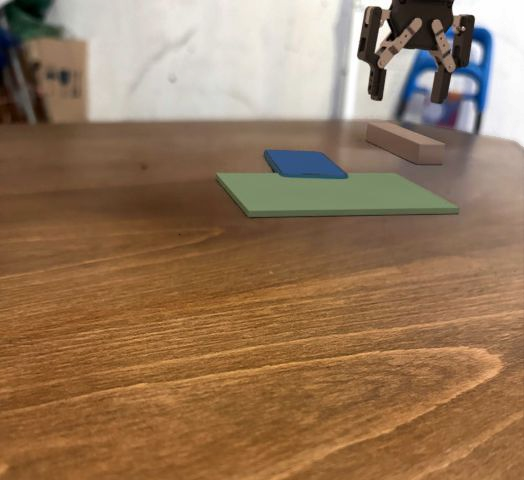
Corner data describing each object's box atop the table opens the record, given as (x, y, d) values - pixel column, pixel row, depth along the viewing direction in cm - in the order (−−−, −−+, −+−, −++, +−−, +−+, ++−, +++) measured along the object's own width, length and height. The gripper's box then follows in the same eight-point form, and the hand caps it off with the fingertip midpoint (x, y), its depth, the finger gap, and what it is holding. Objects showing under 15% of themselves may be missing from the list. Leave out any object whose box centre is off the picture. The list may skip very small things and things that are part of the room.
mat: (394, 178, 73) (394, 172, 73) (458, 213, 61) (459, 207, 61) (215, 178, 68) (215, 172, 68) (248, 217, 56) (248, 210, 56)
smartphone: (321, 151, 82) (351, 176, 69) (320, 159, 83) (349, 185, 69) (262, 149, 81) (280, 174, 68) (261, 157, 82) (279, 183, 68)
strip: (365, 140, 95) (367, 122, 93) (387, 140, 96) (390, 122, 94) (416, 164, 81) (419, 143, 80) (442, 164, 82) (445, 143, 81)
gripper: (388, -54, 72) (367, 103, 80) (501, -41, 76) (471, 108, 84) (361, -50, 79) (343, 95, 86) (466, -38, 83) (441, 100, 90)
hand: (406, 101), depth 85 cm, fingers open, 8 cm apart
